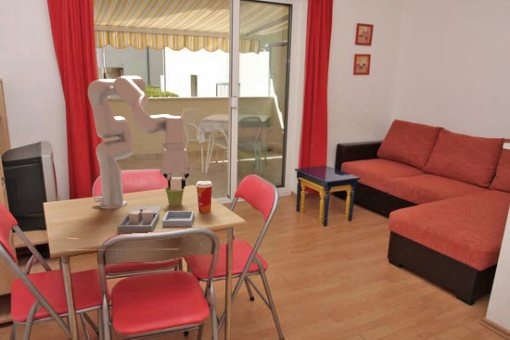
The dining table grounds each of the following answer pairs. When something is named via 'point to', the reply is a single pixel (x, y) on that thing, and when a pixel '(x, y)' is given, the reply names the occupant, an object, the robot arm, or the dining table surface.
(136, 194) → the dining table surface
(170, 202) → the plant pot
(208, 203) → the paper cup
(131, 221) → the stone
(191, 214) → the bin
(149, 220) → the stone
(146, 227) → the bin
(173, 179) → the cream cube
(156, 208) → the lid board
